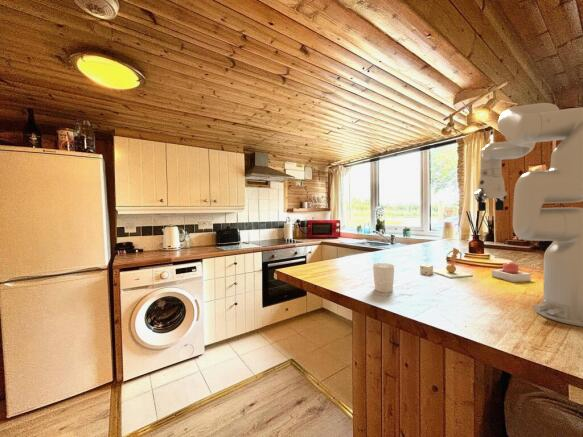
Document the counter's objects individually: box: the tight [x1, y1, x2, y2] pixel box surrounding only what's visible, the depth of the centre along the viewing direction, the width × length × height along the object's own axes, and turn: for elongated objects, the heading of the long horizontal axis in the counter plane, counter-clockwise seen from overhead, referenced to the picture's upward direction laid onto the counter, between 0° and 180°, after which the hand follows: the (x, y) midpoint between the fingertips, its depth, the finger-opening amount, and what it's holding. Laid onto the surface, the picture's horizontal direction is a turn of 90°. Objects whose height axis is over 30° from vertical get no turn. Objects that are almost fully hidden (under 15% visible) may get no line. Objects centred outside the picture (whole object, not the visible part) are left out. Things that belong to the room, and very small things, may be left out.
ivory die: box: [419, 264, 434, 276], centre depth 116 cm, size 4×4×4 cm
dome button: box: [502, 261, 519, 274], centre depth 104 cm, size 5×5×5 cm
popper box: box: [491, 268, 532, 283], centre depth 104 cm, size 9×9×3 cm
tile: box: [433, 268, 474, 279], centre depth 114 cm, size 12×12×1 cm
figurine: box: [445, 247, 462, 273], centre depth 114 cm, size 8×6×12 cm
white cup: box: [372, 262, 395, 294], centre depth 94 cm, size 8×8×10 cm
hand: (490, 210), depth 110 cm, fingers open, 9 cm apart
